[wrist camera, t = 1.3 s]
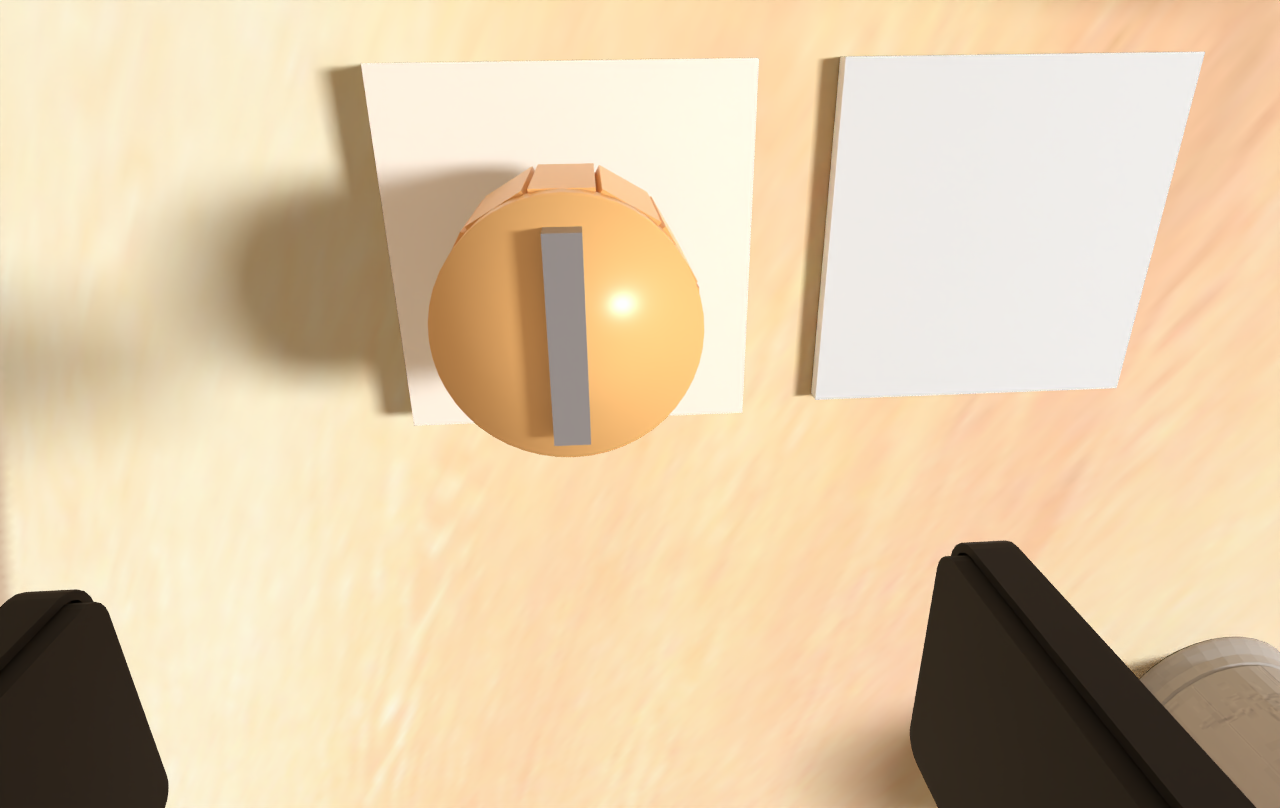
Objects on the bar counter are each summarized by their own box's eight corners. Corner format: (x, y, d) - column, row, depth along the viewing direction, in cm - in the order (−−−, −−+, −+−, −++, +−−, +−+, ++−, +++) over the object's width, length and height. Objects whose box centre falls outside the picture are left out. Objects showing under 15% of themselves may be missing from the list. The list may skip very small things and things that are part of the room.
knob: (449, 166, 22) (403, 204, 16) (679, 161, 22) (712, 196, 17) (473, 380, 25) (440, 476, 19) (678, 372, 25) (705, 464, 19)
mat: (840, 56, 25) (845, 56, 25) (1191, 52, 26) (1204, 51, 25) (810, 393, 30) (815, 399, 30) (1106, 382, 31) (1116, 387, 30)
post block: (373, 62, 24) (275, 66, 17) (749, 58, 25) (823, 58, 17) (422, 408, 29) (364, 534, 22) (735, 396, 30) (787, 514, 22)
